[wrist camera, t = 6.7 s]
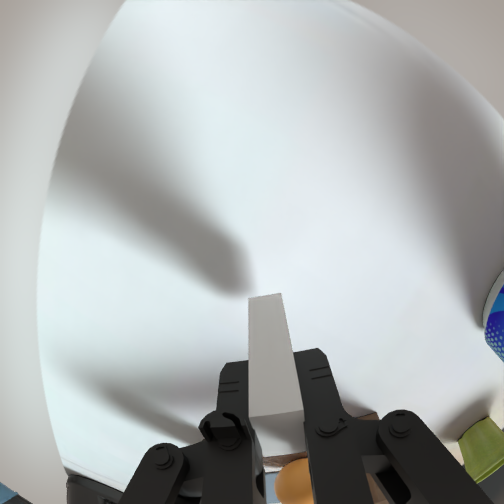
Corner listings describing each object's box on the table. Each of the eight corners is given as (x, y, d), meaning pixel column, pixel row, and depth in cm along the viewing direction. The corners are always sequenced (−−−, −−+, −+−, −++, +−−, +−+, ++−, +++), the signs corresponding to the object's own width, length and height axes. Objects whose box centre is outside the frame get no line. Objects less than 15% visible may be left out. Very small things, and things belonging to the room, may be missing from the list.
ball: (270, 454, 23) (278, 495, 22) (268, 482, 17) (278, 525, 16) (328, 443, 23) (333, 485, 21) (339, 468, 17) (343, 513, 16)
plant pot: (441, 445, 25) (460, 489, 17) (493, 402, 22) (519, 444, 14) (456, 450, 27) (473, 487, 19) (500, 414, 24) (521, 448, 16)
